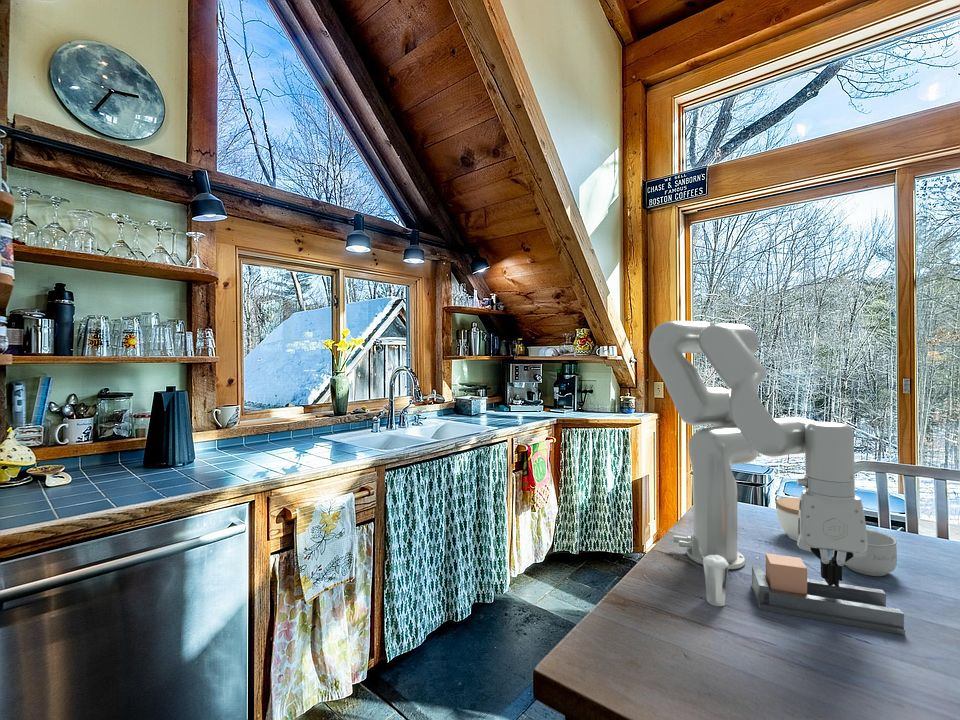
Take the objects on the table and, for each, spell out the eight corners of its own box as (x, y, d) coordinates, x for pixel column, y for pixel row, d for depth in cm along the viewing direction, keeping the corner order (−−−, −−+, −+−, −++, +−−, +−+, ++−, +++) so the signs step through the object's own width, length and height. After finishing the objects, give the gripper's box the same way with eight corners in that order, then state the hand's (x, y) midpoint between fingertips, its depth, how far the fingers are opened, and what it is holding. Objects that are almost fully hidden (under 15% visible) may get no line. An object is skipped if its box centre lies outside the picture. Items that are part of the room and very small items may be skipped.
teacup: (882, 586, 98) (882, 548, 98) (825, 565, 108) (825, 531, 108) (912, 571, 104) (912, 536, 104) (855, 553, 114) (855, 521, 114)
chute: (759, 609, 89) (759, 586, 89) (751, 585, 98) (751, 564, 98) (905, 635, 81) (905, 609, 81) (881, 606, 90) (881, 583, 90)
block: (770, 598, 91) (770, 563, 91) (765, 587, 95) (765, 553, 95) (807, 605, 88) (807, 568, 88) (800, 592, 93) (800, 557, 93)
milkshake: (703, 592, 96) (703, 544, 96) (731, 602, 92) (731, 552, 92) (695, 600, 93) (695, 551, 93) (724, 611, 89) (724, 559, 89)
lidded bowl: (767, 528, 130) (767, 489, 130) (816, 530, 129) (816, 491, 129) (791, 547, 118) (791, 504, 118) (845, 549, 116) (845, 506, 116)
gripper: (787, 488, 88) (789, 584, 88) (887, 496, 82) (888, 599, 82) (780, 479, 95) (781, 568, 95) (871, 485, 89) (872, 581, 89)
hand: (831, 582), depth 89 cm, fingers closed
